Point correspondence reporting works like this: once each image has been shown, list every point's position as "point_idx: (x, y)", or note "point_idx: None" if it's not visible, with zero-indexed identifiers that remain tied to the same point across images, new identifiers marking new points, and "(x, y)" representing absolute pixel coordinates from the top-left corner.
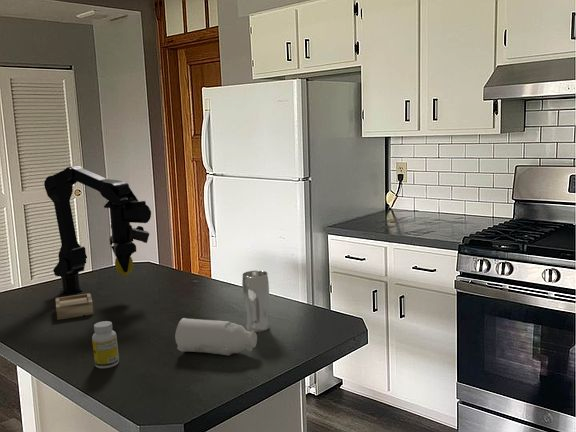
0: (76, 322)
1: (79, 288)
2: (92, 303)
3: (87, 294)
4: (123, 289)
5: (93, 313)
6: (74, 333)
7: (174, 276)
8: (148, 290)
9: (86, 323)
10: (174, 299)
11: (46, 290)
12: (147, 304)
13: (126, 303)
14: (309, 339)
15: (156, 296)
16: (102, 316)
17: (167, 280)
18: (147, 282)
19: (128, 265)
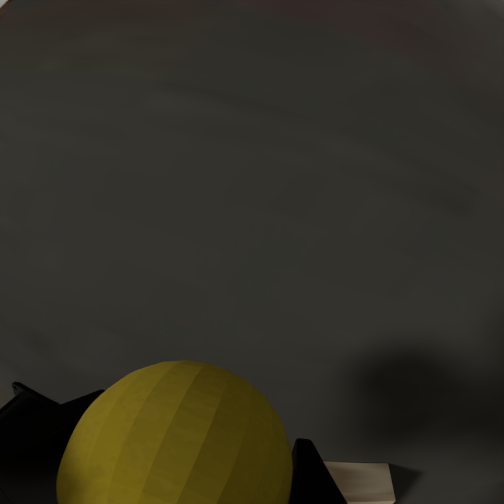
0: (417, 494)
1: (42, 406)
2: (394, 495)
3: None
4: (82, 271)
5: (387, 465)
6: (486, 488)
7: (42, 10)
8: (172, 154)
9: (452, 476)
10: (458, 96)
11: None
12: (452, 253)
13: (354, 341)
14: None
15: (339, 151)
16: (438, 442)
17: (69, 36)
18: (39, 132)
19: (291, 473)
